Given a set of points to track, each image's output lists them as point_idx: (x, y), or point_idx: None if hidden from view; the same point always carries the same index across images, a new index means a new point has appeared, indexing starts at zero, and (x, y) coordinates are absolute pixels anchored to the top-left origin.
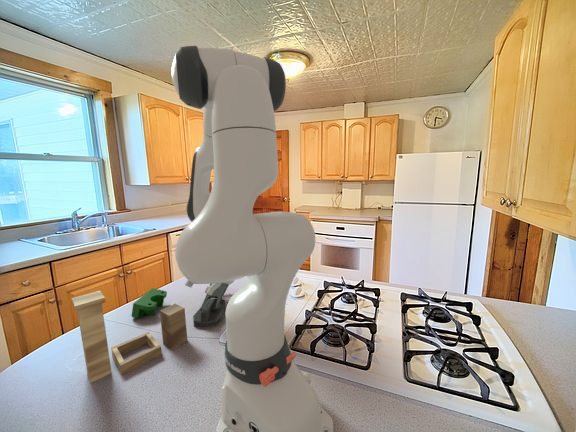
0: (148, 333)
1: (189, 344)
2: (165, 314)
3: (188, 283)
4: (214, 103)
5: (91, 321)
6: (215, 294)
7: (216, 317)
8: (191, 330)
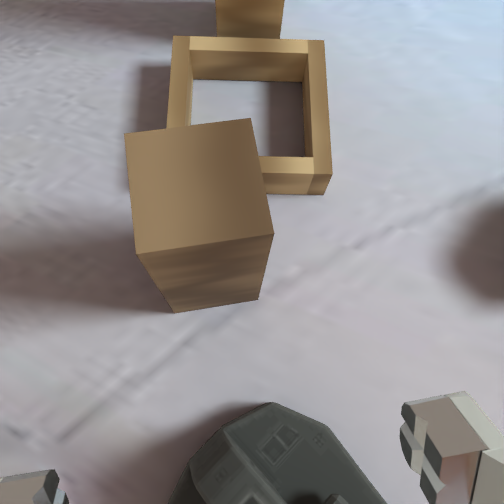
0: (319, 168)
1: (137, 307)
2: (176, 131)
3: (422, 417)
4: None
5: None
6: None
7: None
8: (245, 372)
